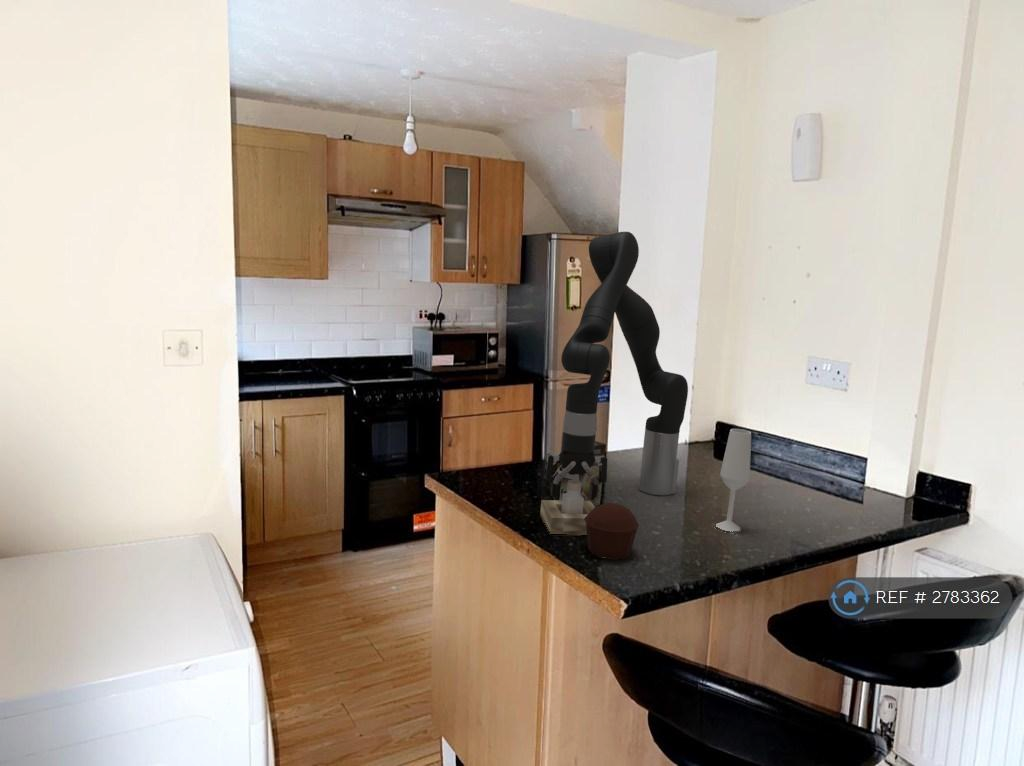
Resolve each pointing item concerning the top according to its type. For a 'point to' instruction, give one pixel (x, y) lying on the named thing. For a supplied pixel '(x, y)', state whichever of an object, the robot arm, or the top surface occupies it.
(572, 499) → the pepper shaker
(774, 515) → the top surface
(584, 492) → the coffee box
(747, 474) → the champagne flute
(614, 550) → the muffin
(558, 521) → the birch holder
